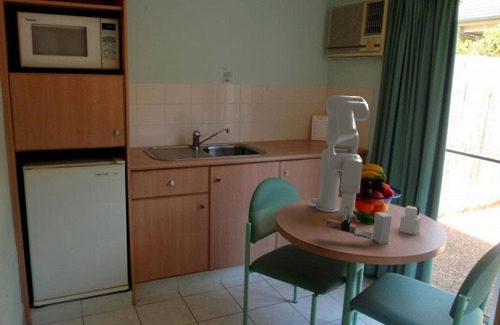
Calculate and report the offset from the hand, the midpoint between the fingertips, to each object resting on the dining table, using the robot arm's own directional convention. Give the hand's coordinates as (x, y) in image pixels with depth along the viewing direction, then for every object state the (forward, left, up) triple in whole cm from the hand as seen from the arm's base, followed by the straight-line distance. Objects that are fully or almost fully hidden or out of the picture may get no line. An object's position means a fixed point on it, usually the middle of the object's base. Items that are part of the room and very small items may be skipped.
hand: (345, 229), depth 178 cm
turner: (+1, 0, -1) cm, 1 cm away
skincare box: (+14, +6, -5) cm, 16 cm away
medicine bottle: (+26, +25, -5) cm, 37 cm away
